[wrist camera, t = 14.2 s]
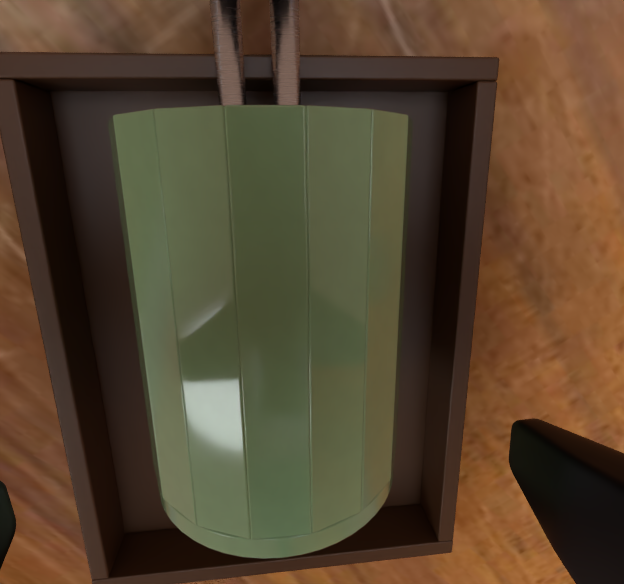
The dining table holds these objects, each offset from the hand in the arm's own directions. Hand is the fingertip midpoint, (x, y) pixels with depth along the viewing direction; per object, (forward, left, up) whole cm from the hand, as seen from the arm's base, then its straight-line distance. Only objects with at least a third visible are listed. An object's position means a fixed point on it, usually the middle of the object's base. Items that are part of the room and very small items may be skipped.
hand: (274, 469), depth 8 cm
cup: (-2, -2, -5) cm, 6 cm away
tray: (0, 0, -8) cm, 9 cm away
